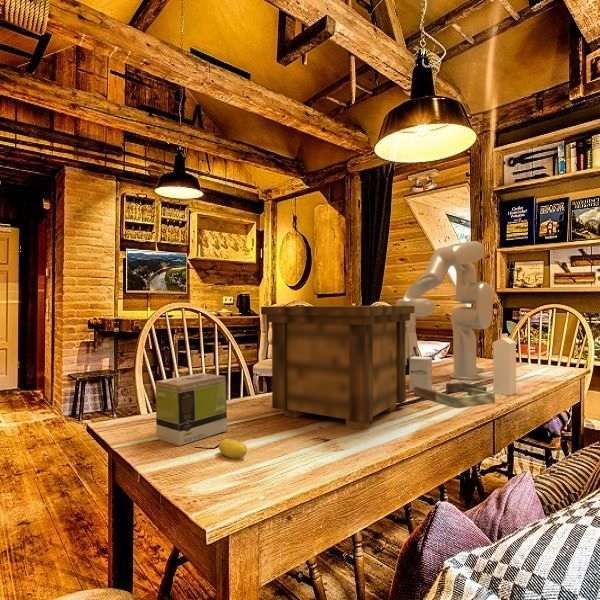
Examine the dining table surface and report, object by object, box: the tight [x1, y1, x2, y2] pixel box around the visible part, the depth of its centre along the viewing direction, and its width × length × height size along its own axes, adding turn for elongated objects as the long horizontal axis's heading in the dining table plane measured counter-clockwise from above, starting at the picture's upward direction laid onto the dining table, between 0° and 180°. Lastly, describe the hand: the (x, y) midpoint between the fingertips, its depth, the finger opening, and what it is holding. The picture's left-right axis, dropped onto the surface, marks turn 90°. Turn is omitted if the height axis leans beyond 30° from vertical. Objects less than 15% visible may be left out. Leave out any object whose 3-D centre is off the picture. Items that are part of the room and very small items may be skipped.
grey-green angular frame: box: [413, 381, 496, 409], centre depth 148 cm, size 23×20×3 cm
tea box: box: [155, 372, 228, 447], centre depth 107 cm, size 15×10×15 cm
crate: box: [260, 305, 415, 430], centre depth 130 cm, size 35×35×33 cm
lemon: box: [218, 438, 248, 459], centre depth 92 cm, size 4×8×4 cm, turn 47°
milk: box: [492, 332, 517, 396], centre depth 155 cm, size 6×6×22 cm
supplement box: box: [408, 356, 433, 392], centre depth 161 cm, size 7×7×13 cm
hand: (406, 374), depth 169 cm, fingers closed
